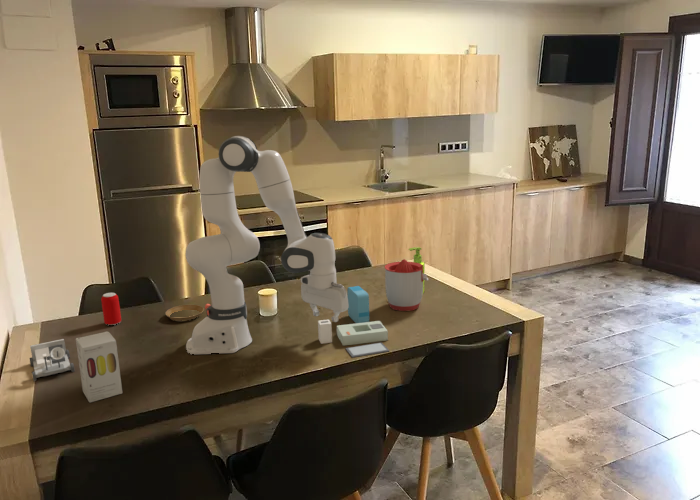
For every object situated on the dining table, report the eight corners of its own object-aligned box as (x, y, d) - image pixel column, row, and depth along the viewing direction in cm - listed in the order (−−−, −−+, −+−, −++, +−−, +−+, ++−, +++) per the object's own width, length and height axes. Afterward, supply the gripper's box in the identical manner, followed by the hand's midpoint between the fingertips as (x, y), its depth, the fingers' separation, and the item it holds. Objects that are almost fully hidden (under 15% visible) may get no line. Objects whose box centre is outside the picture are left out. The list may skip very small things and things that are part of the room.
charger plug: (320, 343, 197) (319, 324, 195) (318, 339, 201) (317, 320, 199) (332, 342, 198) (331, 323, 196) (329, 337, 202) (329, 319, 200)
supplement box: (89, 403, 161) (80, 348, 157) (81, 391, 168) (73, 338, 164) (124, 393, 166) (116, 339, 162) (115, 381, 174) (108, 330, 170)
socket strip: (343, 345, 195) (342, 335, 194) (336, 334, 204) (336, 325, 203) (387, 340, 198) (387, 330, 197) (379, 329, 208) (379, 320, 207)
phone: (352, 359, 186) (352, 356, 185) (345, 350, 192) (345, 347, 192) (389, 353, 190) (389, 350, 189) (381, 345, 196) (381, 342, 196)
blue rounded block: (369, 324, 213) (369, 293, 210) (358, 326, 212) (357, 295, 209) (358, 313, 224) (358, 284, 221) (347, 315, 223) (347, 286, 220)
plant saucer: (209, 310, 233) (209, 304, 232) (196, 324, 219) (196, 317, 218) (174, 310, 235) (174, 304, 234) (159, 323, 220) (159, 317, 220)
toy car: (71, 347, 176) (29, 356, 170) (76, 376, 179) (34, 386, 173) (65, 329, 191) (25, 337, 185) (69, 356, 194) (30, 364, 188)
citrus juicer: (427, 314, 221) (427, 265, 217) (383, 313, 224) (382, 264, 219) (428, 301, 236) (429, 254, 231) (386, 299, 239) (386, 253, 234)
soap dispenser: (406, 291, 249) (406, 247, 244) (420, 289, 251) (421, 245, 246) (411, 295, 244) (411, 250, 239) (426, 293, 246) (426, 248, 241)
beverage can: (107, 328, 217) (103, 298, 214) (102, 323, 221) (98, 294, 218) (124, 323, 220) (120, 294, 217) (118, 319, 225) (114, 290, 222)
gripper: (351, 283, 190) (353, 322, 193) (310, 273, 203) (312, 310, 207) (338, 287, 185) (340, 327, 188) (297, 277, 199) (299, 314, 202)
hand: (325, 318), depth 198 cm, fingers open, 8 cm apart
